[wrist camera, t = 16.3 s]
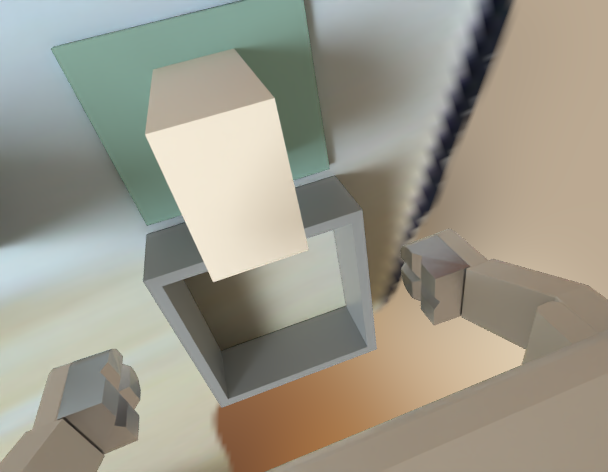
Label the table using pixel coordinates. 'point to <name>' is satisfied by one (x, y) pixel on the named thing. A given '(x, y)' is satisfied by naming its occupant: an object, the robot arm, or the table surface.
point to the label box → (225, 162)
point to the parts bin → (283, 343)
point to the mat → (182, 47)
